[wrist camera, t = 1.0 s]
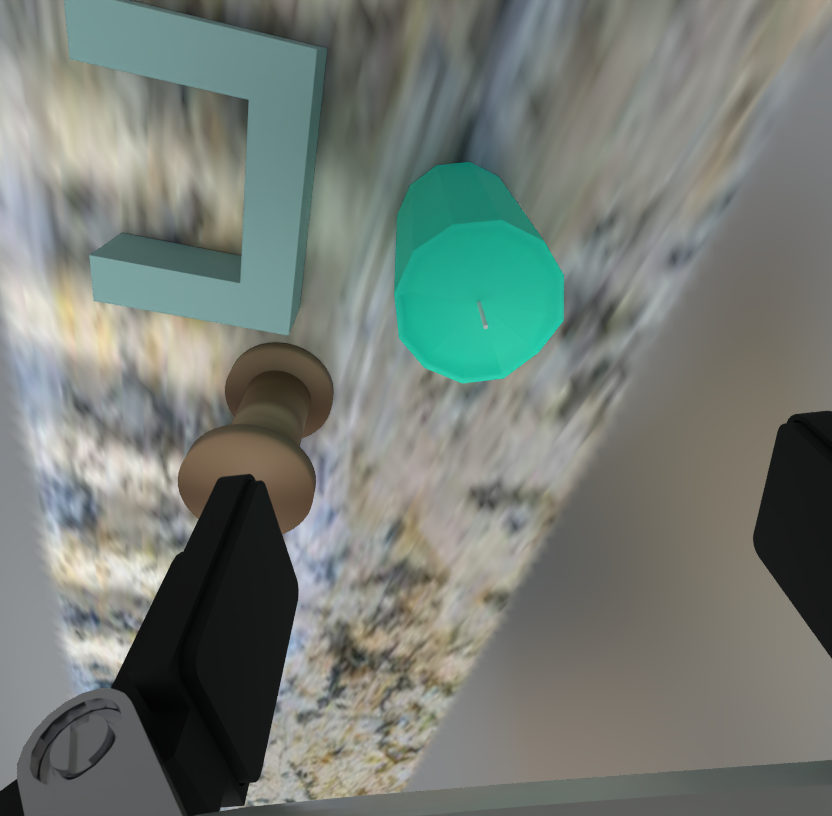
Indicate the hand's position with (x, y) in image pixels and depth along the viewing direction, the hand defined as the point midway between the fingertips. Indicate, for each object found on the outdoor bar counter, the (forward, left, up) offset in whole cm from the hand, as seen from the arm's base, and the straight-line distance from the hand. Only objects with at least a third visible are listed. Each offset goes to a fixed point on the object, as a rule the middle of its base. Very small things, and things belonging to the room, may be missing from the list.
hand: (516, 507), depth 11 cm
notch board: (-3, -11, -21) cm, 24 cm away
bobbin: (+8, -11, -21) cm, 25 cm away
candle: (+1, 0, -21) cm, 21 cm away
